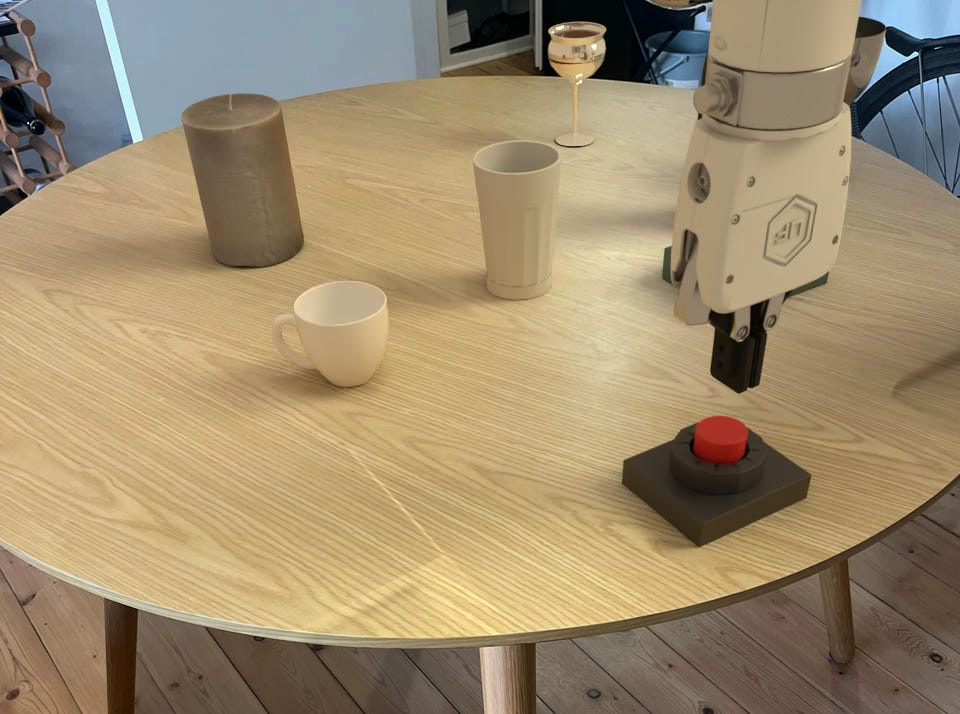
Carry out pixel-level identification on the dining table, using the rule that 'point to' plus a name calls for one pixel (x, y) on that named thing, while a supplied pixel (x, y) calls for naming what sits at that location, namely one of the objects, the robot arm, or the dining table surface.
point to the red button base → (714, 486)
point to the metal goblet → (864, 57)
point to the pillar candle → (244, 178)
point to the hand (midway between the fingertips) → (734, 380)
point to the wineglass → (576, 61)
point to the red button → (720, 440)
